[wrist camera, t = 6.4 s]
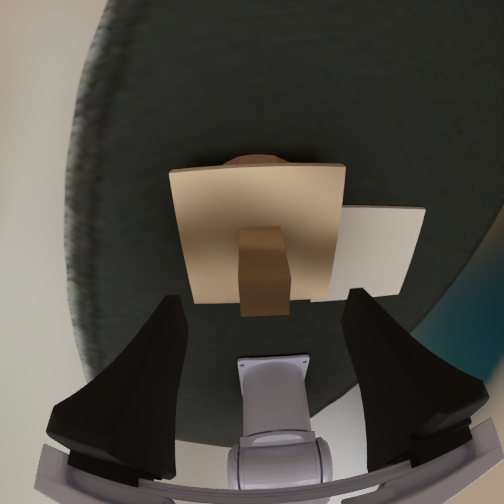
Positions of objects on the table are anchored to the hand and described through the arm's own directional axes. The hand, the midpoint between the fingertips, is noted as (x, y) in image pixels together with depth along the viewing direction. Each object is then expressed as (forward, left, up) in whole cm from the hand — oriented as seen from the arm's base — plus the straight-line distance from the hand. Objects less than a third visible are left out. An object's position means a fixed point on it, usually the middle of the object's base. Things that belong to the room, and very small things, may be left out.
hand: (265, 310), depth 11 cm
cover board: (0, 0, -6) cm, 6 cm away
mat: (-4, -9, -9) cm, 13 cm away
